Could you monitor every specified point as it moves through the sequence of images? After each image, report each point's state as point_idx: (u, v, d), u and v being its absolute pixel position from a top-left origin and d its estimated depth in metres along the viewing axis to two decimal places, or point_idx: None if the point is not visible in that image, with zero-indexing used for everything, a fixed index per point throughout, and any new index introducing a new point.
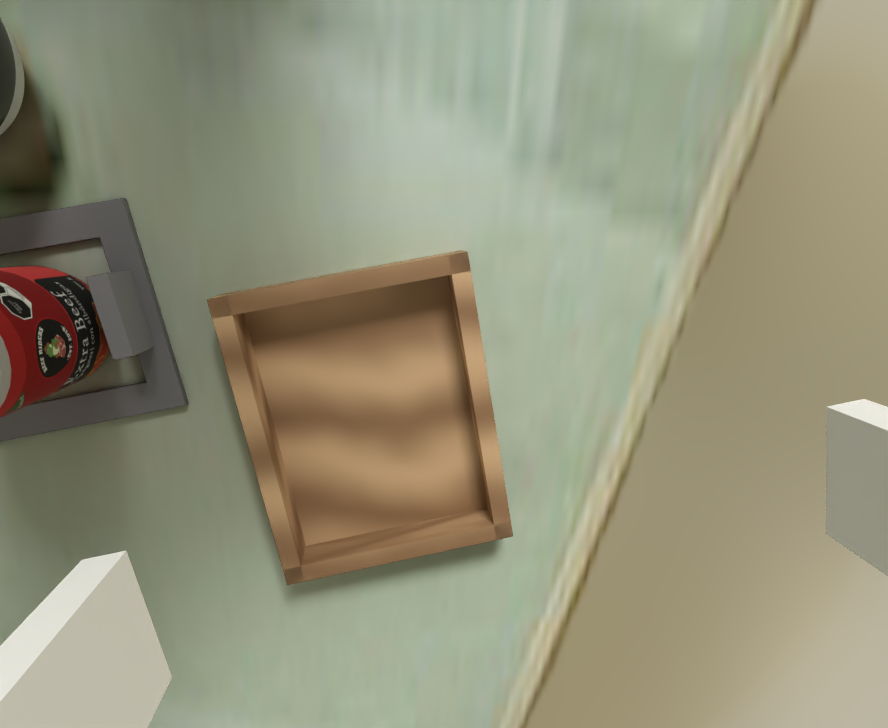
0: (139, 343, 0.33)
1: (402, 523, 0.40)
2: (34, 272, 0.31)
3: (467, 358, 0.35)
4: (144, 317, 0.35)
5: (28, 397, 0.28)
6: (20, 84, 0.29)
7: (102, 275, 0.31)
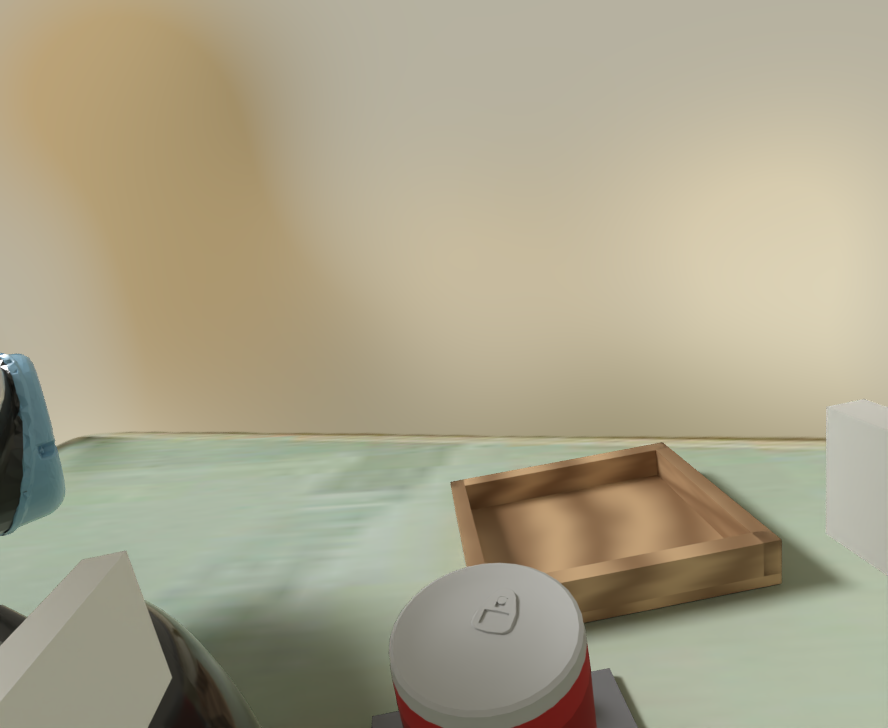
0: None
1: (692, 510, 0.43)
2: None
3: (524, 473, 0.48)
4: None
5: None
6: None
7: None
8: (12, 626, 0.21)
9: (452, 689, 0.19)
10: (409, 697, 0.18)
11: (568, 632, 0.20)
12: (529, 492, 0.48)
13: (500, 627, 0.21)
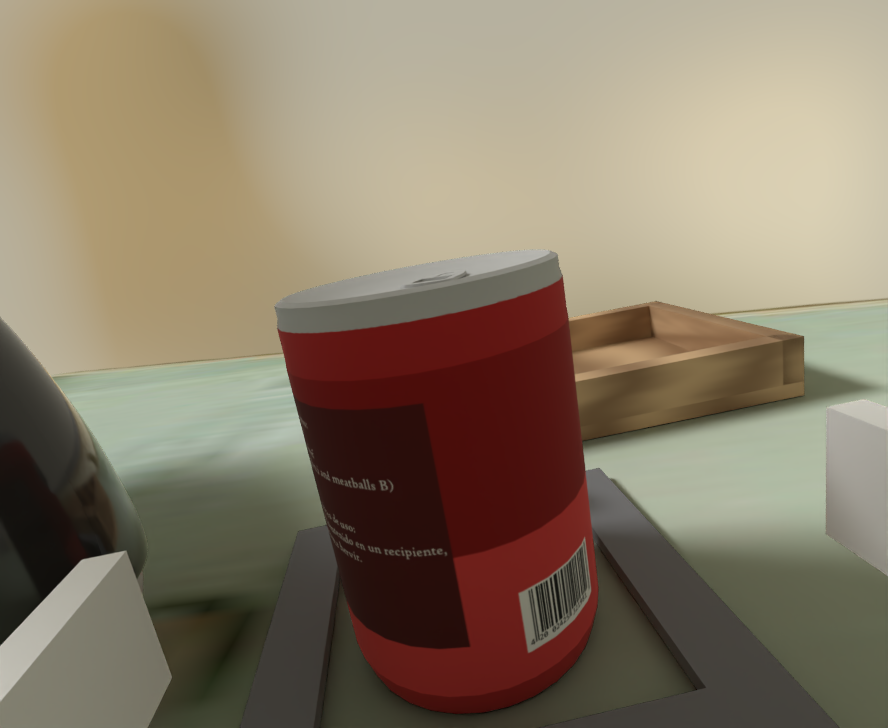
0: None
1: None
2: None
3: None
4: None
5: None
6: None
7: None
8: None
9: None
10: (291, 313, 0.12)
11: None
12: None
13: (440, 279, 0.15)
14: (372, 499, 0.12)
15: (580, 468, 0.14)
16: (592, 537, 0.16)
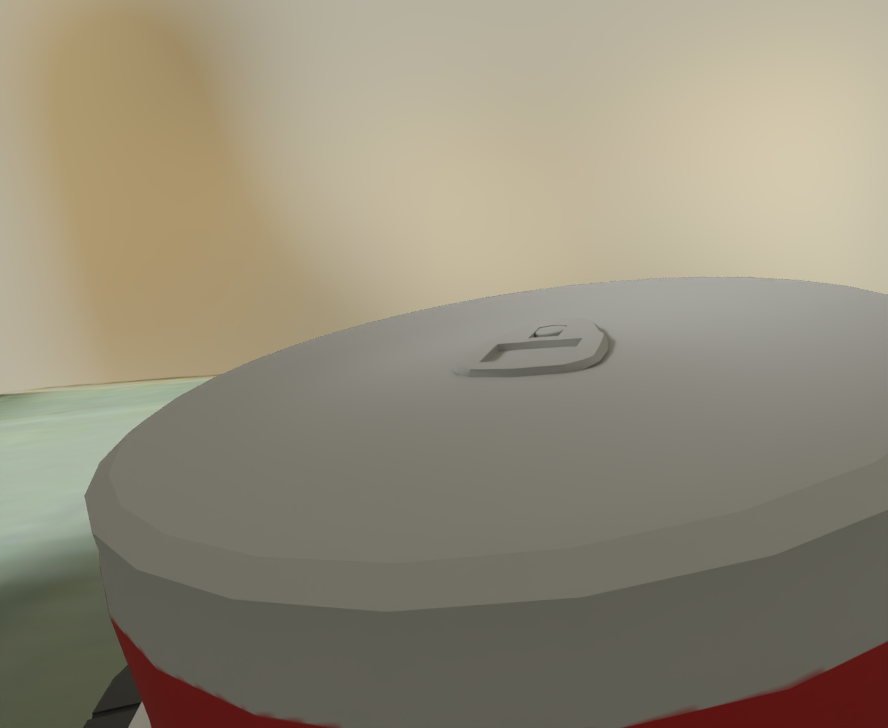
0: None
1: None
2: None
3: None
4: None
5: None
6: None
7: None
8: None
9: (348, 506, 0.03)
10: (97, 544, 0.03)
11: (848, 319, 0.05)
12: None
13: (559, 358, 0.06)
14: None
15: None
16: None
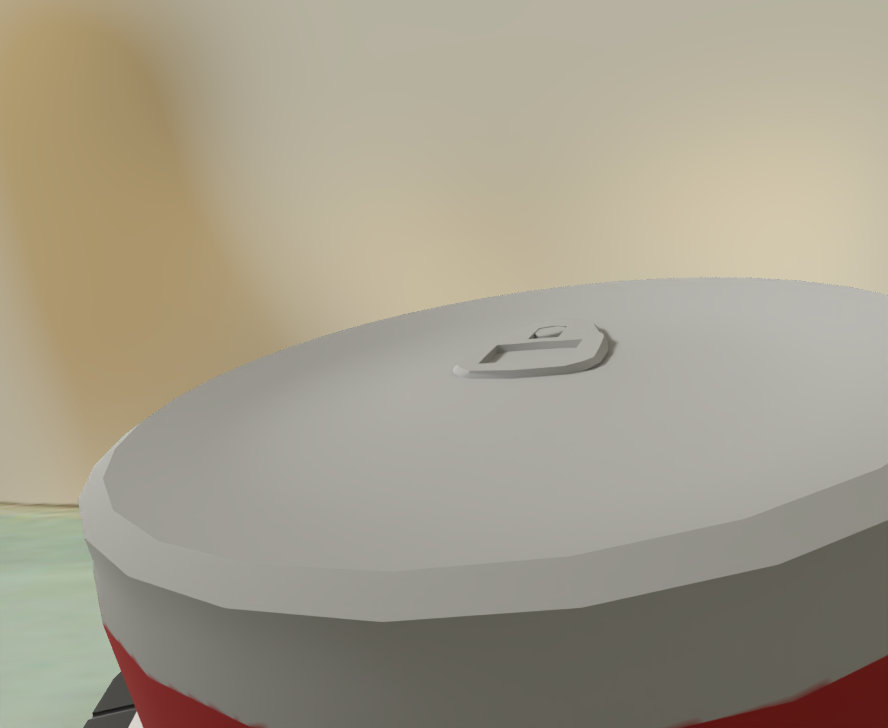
0: None
1: None
2: None
3: None
4: None
5: None
6: None
7: None
8: None
9: (344, 511, 0.03)
10: (91, 552, 0.03)
11: (850, 321, 0.05)
12: None
13: (559, 359, 0.06)
14: None
15: None
16: None
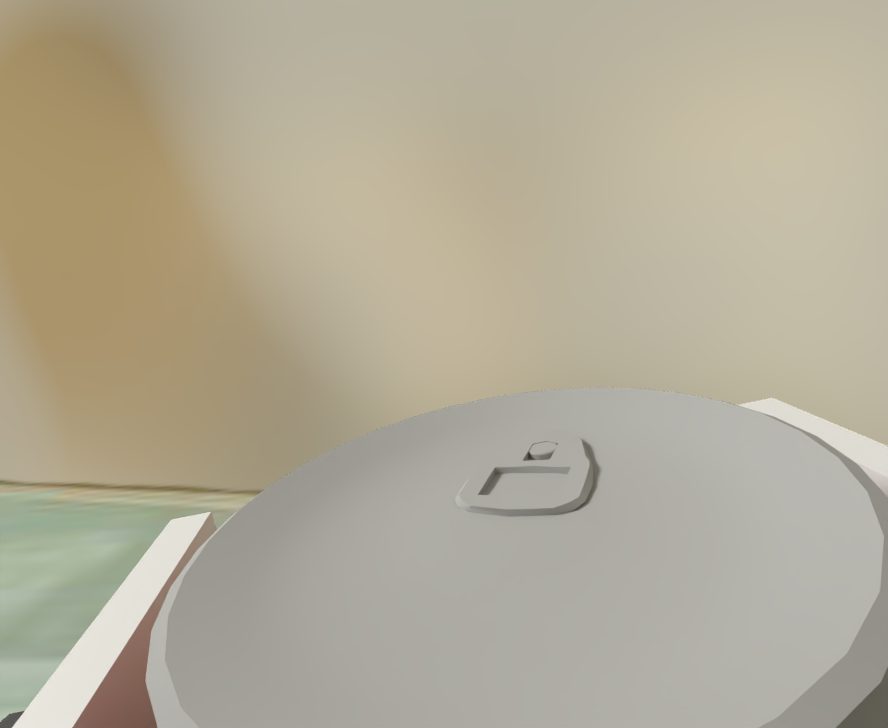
0: None
1: None
2: None
3: None
4: None
5: None
6: None
7: None
8: None
9: (368, 699, 0.04)
10: None
11: (798, 477, 0.06)
12: None
13: (549, 496, 0.07)
14: None
15: None
16: None
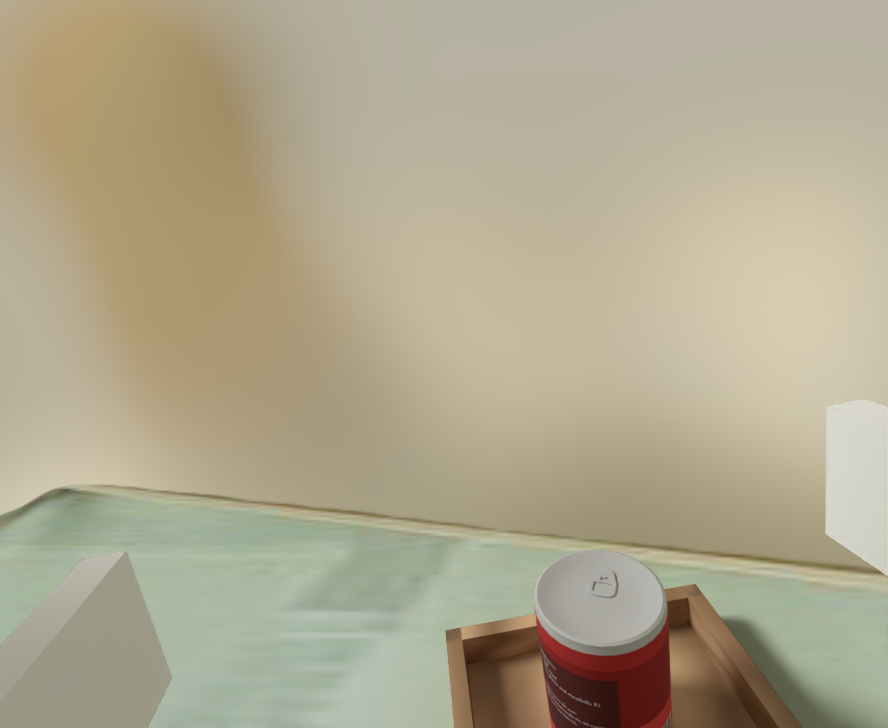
0: None
1: (734, 696, 0.36)
2: None
3: (532, 625, 0.41)
4: None
5: None
6: None
7: None
8: None
9: (585, 631, 0.30)
10: (559, 635, 0.30)
11: (655, 596, 0.31)
12: (537, 644, 0.41)
13: (607, 593, 0.32)
14: (589, 708, 0.30)
15: (670, 681, 0.32)
16: None
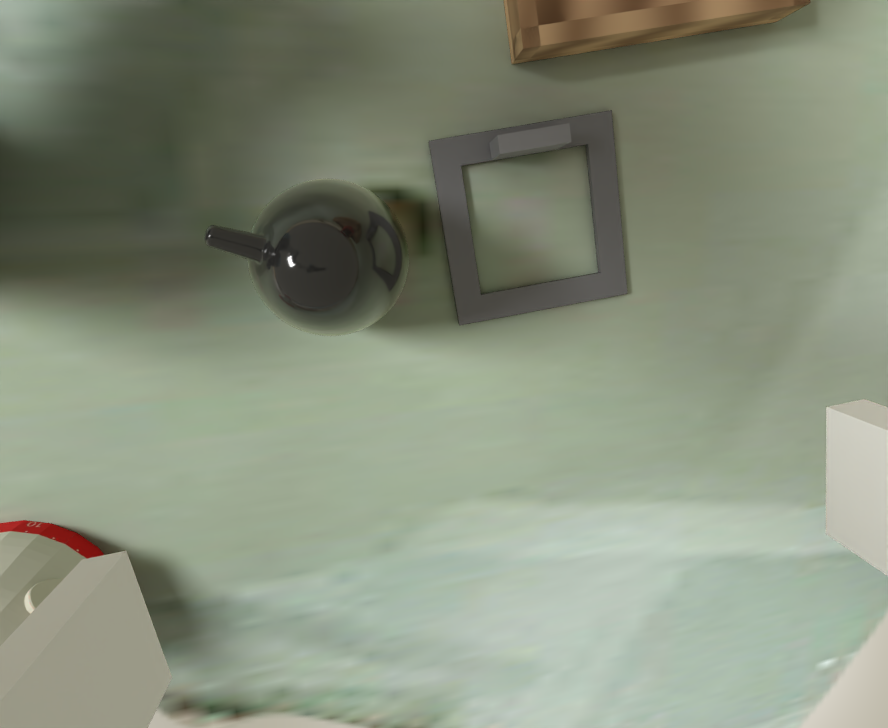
0: None
1: None
2: None
3: None
4: None
5: None
6: None
7: (499, 139, 0.36)
8: (243, 248, 0.26)
9: None
10: None
11: None
12: None
13: None
14: None
15: None
16: None
